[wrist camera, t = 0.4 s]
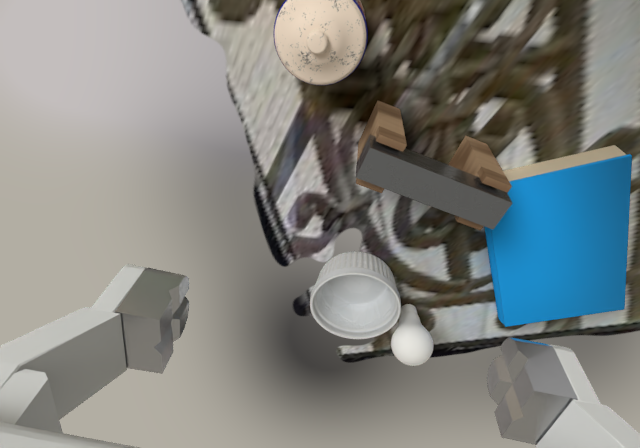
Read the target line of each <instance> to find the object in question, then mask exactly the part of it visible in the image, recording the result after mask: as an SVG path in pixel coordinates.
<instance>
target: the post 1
mask: <svg viewBox="0 0 640 448" xmlns="http://www.w3.org/2000/svg"><path fill="white" fill-rule="evenodd" d="M369 135H373V136H375V137H376V141H377V142H379V143H382V144H384V145H387V146H389V147H392V148H394V149H397V150H400V151H402V152H403V151H404V149H405V147H406V146H407V144H406V138H405V133H404V128H403V122H402V117H401V112H400V109H398V108H396V107H393V106H391V105H388V104H386V103H383V102H381V101H378V100H377V103H376V105H375V107H374V109H373V112H372V114H371V116H370V118H369V120H368V123H367V125H366V127H365V129H364V132H363V134H362V136H361V138H360V141H359V143H358V159H359V157H360V155H361V153H362V150H363V148H364V146H365V144H366V142H367V140H368V137H369ZM358 159H357V161H358ZM356 184H359V185H361V186H364V187H367V188H369V189H372V190H375V191H377V192H380V193H382V192H383V190H384V188H382V187H379V186H376V185H374V184H371V183H369V182H366V181H363V180H361V179H358V178H356Z"/></svg>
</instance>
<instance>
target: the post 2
mask: <svg viewBox="0 0 640 448" xmlns="http://www.w3.org/2000/svg"><path fill="white" fill-rule="evenodd" d="M448 165H449V166H452V167H454V168H457V169H460V170H462V171H465V172H467V173H470V174H472V175H475V176H477V177H480V180H481V182H482V183H484V184H487V185H489V186H492V187H494V188H497V189H499V190H502V191H504V192H507V193H508V191H509V190H510V189H511V187H512V186H511V184H510V182H509V181H508V179H507V177H506V176H505V174H504V172H503V171H502V169H501V167H500V165H499V164H498V162H497V160H496V159H495V157H494V155H493V154H492V152H491V150H490V149H489V147H488V145H487V144H485V143H483V142H480V141H478V140H475V139H473V138H470V137H468V136H465V138H464V139H463V141H462V143H461V144H460V146H459V148H458V149H457V151H456V153H455V154H454V156H453V158H452V159H451V161H450V163H449V164H448ZM455 218H456V221H457V222H459V223H462V224H465V225H467V226H470V227H473V228H475V229H478V230H481V229H482V228H483V226H482V225H479V224H477V223H474V222H472V221H469V220H466V219H464V218H461V217H458V216H456V215H455Z"/></svg>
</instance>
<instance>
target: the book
mask: <svg viewBox="0 0 640 448" xmlns="http://www.w3.org/2000/svg"><path fill="white" fill-rule="evenodd" d="M631 165H632V155H630V154H628V155H626V154H625V153H624V152H623V151H621V150H620V149H619V148H618V147H616V146H615V145H613V146H609V147H604V148H600V149H596V150H592V151H587V152H583V153H579V154H574V155H570V156H566V157H561V158H557V159H553V160H548V161H544V162H540V163H535V164H531V165H527V166H523V167H518V168H514V169H510V170H505V171H503V172H504V174H505V176H506V177H507V179H508V181H509V182H510V184H511V186H512V187H511V189H510V190H509V191H508V193H507V194H508V196H509V197H510V199H511V201H512V205H511V206H510V207H509V209H508V210H507V212H506V213H505V214H504V216H503V217H502V218H501V220H500V221H499V222H498V224H497V225H496V227H495V228H494V229H490V228H487V227H485V226H484V227H485V233H486V240H487V247H488V253H489V260H490V266H491V273H492V279H493V286H494V293H495V299H496V306H497V312H498V318H499V320H500V321H501V322H502V323H503V324H504V325H505V327H507V326H514V325H521V324H528V323H534V322H541V321H548V320H555V319H562V318H568V317H575V316H582V315H589V314H596V313H602V312H609V311H616V310H623V309H624V307H625V287H626V266H627V246H628V226H629V206H630V185H631Z"/></svg>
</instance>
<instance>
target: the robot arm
mask: <svg viewBox="0 0 640 448" xmlns="http://www.w3.org/2000/svg"><path fill="white" fill-rule="evenodd" d="M188 289H189V278H188V277H187V276H184V275H179V274H175V273H171V272H165V271H161V270H156V269H151V268H145V267H140V266H136V265H131V264H127V265H126V266H124V267H122V269H121V270H120V271H119V273H118V274H117V275H116V277H115V278H114V279H113V280H112V281H111V283H110V284H109V285H108V287H107V288H106V289H105V290H104V292H103V293H102V294H101V295H100V297H99V298H98V299H97V301H96V302H95V303H94V304H93V306H92V307H91V308H88V307H84V308H81V309H79V310H77V311H75V312H73V313H70V314H68V315H66V316H64V317H62V318H59V319H58V320H55V321H53V322H51V323H49V324H47V325H44V326H42V327H40V328H38V329H36V330H33V331H31V332H29V333H27V334H25V335H23V336H20V337H18V338H16V339H14V340H12V341H9V342H7V343H5V344H3V345H1V346H0V448H139V447H133V446H128V445H122V444H117V443H111V442H106V441H101V440H95V439H90V438H84V437H79V436H74V435H69V434H63V433H62V429H61V425H60V422H59V420H60V419H61V418H62V417H64V416H65V415H66V414H68V413H69V412H70V411H72V410H73V409H75V408H76V407H77V406H78V405H80V404H81V403H83V402H84V401H85V400H87V399H88V398H89V397H91V396H92V395H94V394H95V393H96V392H98V391H99V390H100V389H102V388H103V387H104V386H106V385H107V384H109V383H110V382H111V381H113V380H114V379H115V378H117V377H118V376H119V375H121V374H122V373H123V372H125V371H126V370H127V368H130V369H137V370H143V371H149V372H156V373H163V371H164V369H165V367H166V365H167V363H168V361H169V359H170V357H171V355H172V353H173V342H174V341H175V340H177V339H178V338H180V336H181V334H182V332H183V330H184V328H185V324H186V321H187V318H188V311H189V301H188V300H187V298H186V297H185V295H186V293H187V291H188ZM501 351H502V355H500V356H499V357H497V358H495V359H493V361H492V363H491V365H490V367H489V370H488V377H487V384H488V390H489V394H490V397H491V398H492V399H493V400H494V401H495V402H496V403H497V404H498V407H497V409H496V410H495V416H496V419H497V423H498V426H499V430H500V433H501V437H503V438H507V439H512V440H516V441H521V442H526V443H531V444H535V445H536V448H640V434H639V433H638V432H637V431H636V430H635V429H633V428H632V427H631V426H630V425H629V424H628V423H627V422H626V421H624V420H623V419H622V418H621V417H620V416H619V415H618V414H616V413H615V412H614V411H613V410H612V409H611V408H610V407H608V406H606V405H601V403H600V401H599V399H598V397H597V395H596V393H595V392H594V390H593V388H592V386H591V384H590V382H589V380H588V378H587V376H586V374H585V372H584V370H583V369H582V367H581V365H580V363H579V361H578V359H577V357H576V355H575V353H574V352H573V351H572V350H571V349H570V348H567V347H562V346H556V345H550V344H549V345H547V344H543V343H538V342H532V341H527V340H521V339H516V338H510V337H509V338H507V339H506V340H505V341H504V342H503V344H502V345H501Z"/></svg>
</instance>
